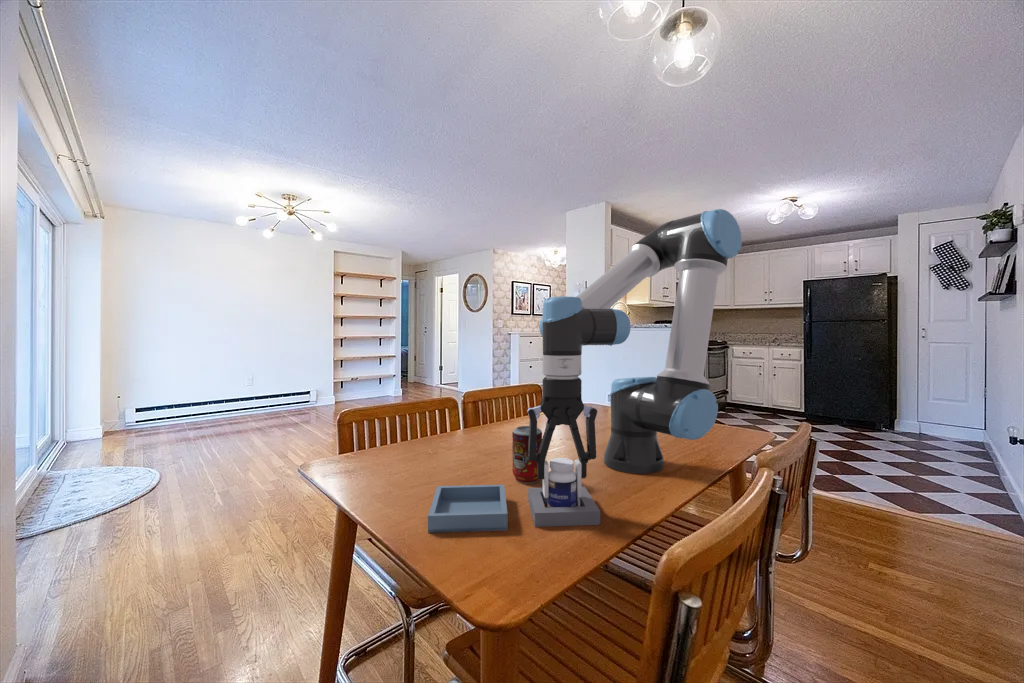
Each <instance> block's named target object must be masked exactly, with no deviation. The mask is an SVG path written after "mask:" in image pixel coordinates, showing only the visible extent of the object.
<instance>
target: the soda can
mask: <svg viewBox="0 0 1024 683" xmlns="http://www.w3.org/2000/svg"><path fill="white" fill-rule="evenodd" d="M511 433H512V434H511V436H512V447H511V448H512V450H511V451H512V456H511V457H512V460H511V461H512V474H513V476H514V478H515V481H516V482H518V483H519V484H527V485H528V484H529V485H530V484H536V483H538V482H539V478H538V475H537V462H536V461H531V460H530V459H529V456H528V444H529V425H521V426H517V427H516V428H514V429H513V430H512V432H511ZM542 438H543V432H542V430H541V429H540V428H539V427H537V437H536V453H537V454H538V452H539V448H540V445H541V441H542Z"/></svg>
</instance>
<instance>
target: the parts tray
mask: <svg viewBox="0 0 1024 683" xmlns="http://www.w3.org/2000/svg"><path fill="white" fill-rule="evenodd" d="M507 506H508V505H507V497H506V489H505V484H477V485H476V484H473V485H472V484H468V485H437V486H436V489H435V492H434V496H433V499H432V502H431V505H430V507H429V511H428V515H427V533H428V534H432V533H433V534H435V533H436V534H437V533H438V534H439V533H440V534H441V533H465V532H467V533H468V532H494V531H495V532H496V531H499V532H500V531H502V532H503V531H508V530H509V528H508V527H509V526H508V524H509V523H508V518H509V517H508V507H507Z"/></svg>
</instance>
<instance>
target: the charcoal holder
mask: <svg viewBox="0 0 1024 683" xmlns="http://www.w3.org/2000/svg"><path fill="white" fill-rule="evenodd" d="M527 491H528V492H527V494H528V496H527V499H528V505H529V508H530V513H531V516H532V521H533V525H534V527H535V528H538V527H539V528H541V527H569V526H599V525H600V526H601V510H600V508H599V507H598V505H597V504H596V502H595V500H594V499H593V497H592V496H591V494H590V492H589V491H588V489H587V487H586V486H581V497H577V495H576V505H577V506H576V507H550V508H547V507H546V506H545V505H547V498H544V495H543V487H529V488H527Z"/></svg>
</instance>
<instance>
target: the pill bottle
mask: <svg viewBox="0 0 1024 683" xmlns="http://www.w3.org/2000/svg"><path fill="white" fill-rule="evenodd" d="M549 468H550V470H549V478H548V498H547V504H546V508H550V507H577V503H576V487H577V478H576V474H575V471H574V470H575V461H573V460H572V459H570V458H565V457H554V458H552V459H550V460H549Z"/></svg>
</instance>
